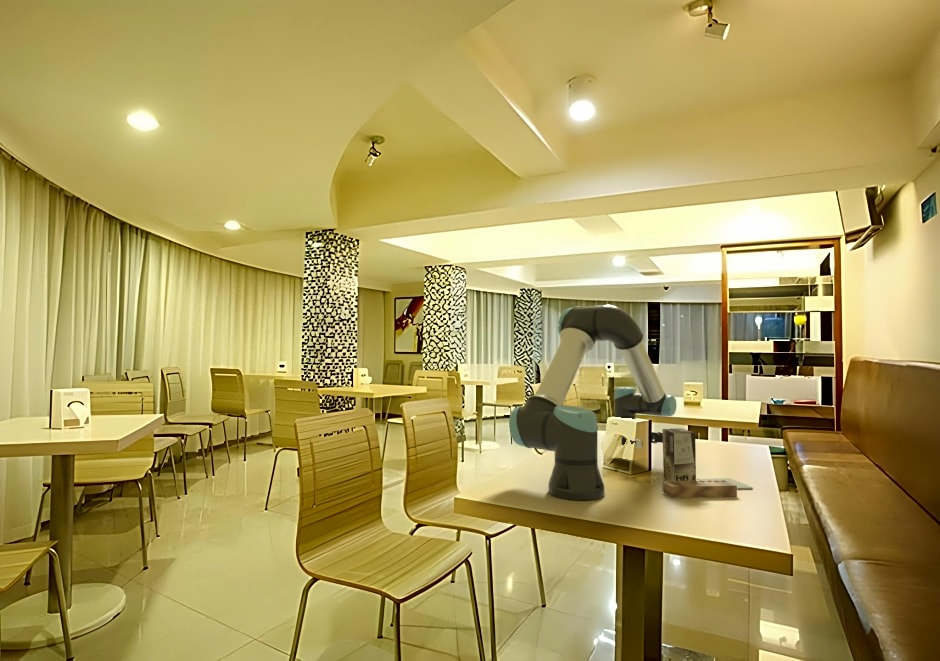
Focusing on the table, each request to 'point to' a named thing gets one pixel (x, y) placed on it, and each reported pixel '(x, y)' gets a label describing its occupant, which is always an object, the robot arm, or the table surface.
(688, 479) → the coffee box
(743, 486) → the stub pad
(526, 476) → the table surface
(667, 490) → the perforated block
